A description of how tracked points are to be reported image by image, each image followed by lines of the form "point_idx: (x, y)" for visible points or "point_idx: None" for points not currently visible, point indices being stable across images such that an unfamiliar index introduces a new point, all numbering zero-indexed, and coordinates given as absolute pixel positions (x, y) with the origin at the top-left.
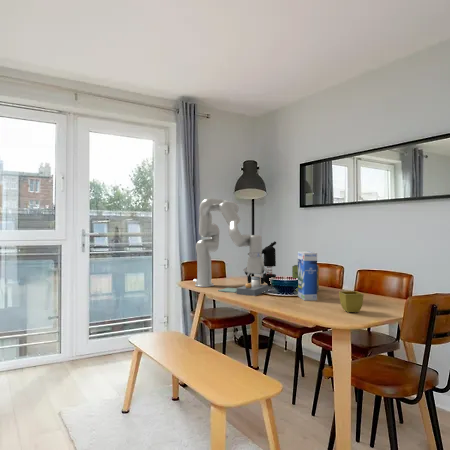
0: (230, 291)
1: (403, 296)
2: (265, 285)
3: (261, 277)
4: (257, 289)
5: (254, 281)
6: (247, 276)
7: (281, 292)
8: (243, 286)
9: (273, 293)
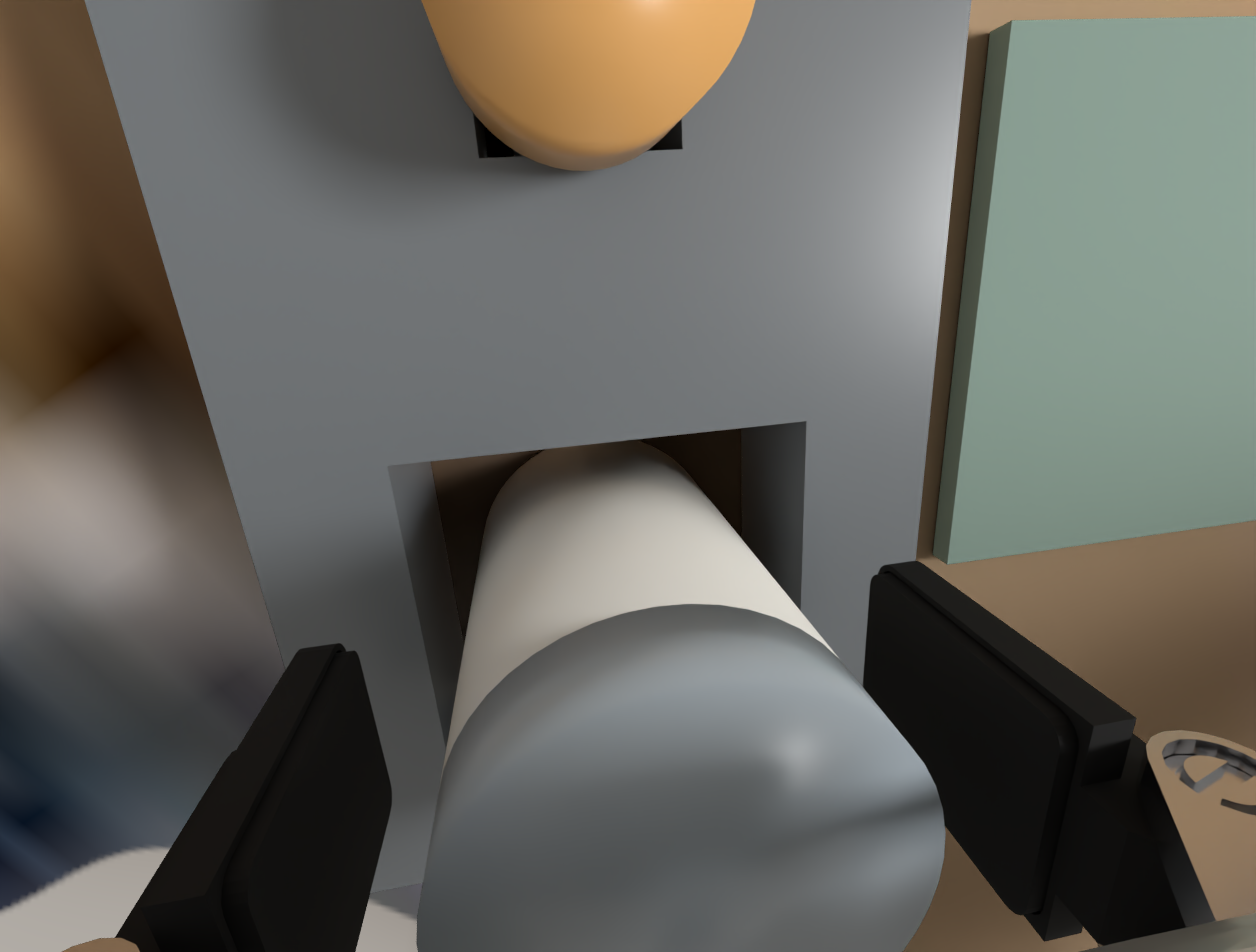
0: (1144, 21)
1: None
2: (418, 839)
3: (198, 939)
4: (109, 36)
5: (603, 576)
6: (1168, 734)
7: (2, 811)
8: (917, 287)
9: (42, 592)
